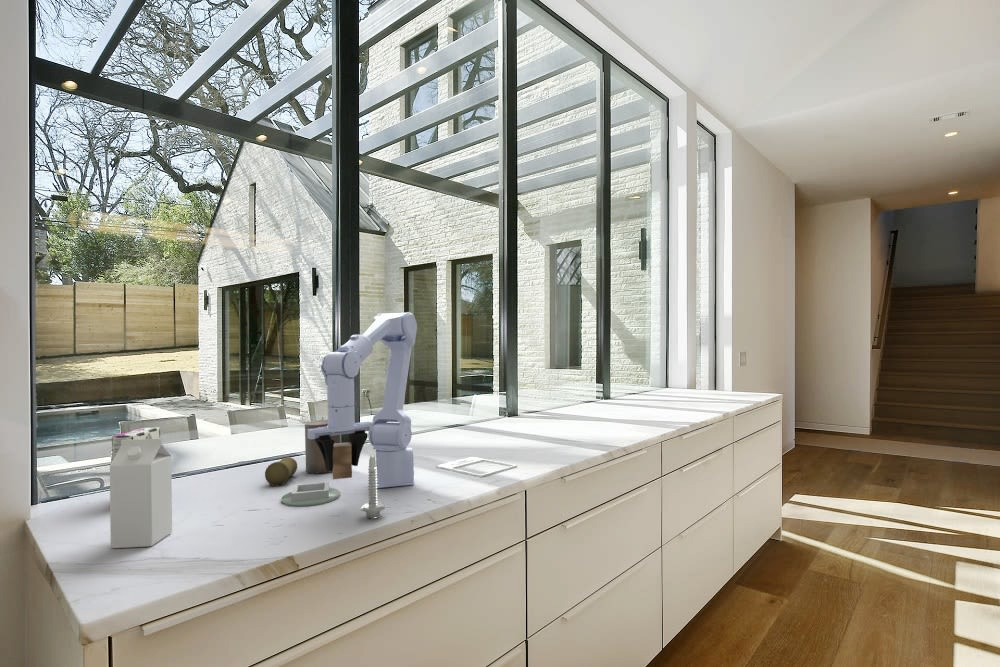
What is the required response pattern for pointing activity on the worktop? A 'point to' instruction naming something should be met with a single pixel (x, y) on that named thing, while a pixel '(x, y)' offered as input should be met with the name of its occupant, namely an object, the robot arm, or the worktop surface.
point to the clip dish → (310, 494)
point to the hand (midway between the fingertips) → (342, 467)
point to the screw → (372, 492)
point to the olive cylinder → (280, 471)
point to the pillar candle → (316, 449)
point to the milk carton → (140, 494)
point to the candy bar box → (134, 437)
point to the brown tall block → (342, 460)
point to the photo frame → (471, 461)
